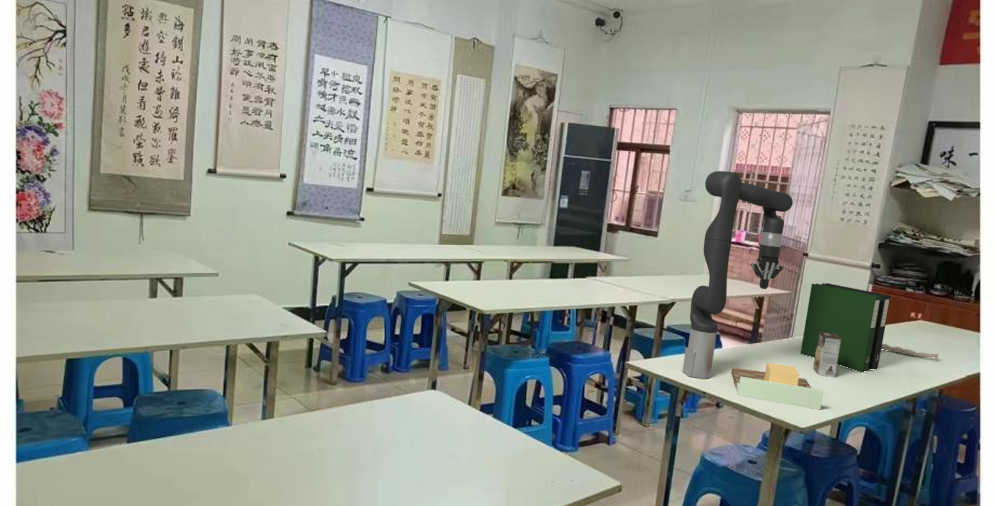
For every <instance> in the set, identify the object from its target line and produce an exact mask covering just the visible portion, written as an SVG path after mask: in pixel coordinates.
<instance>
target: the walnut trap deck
mask: <svg viewBox="0 0 994 506" xmlns="http://www.w3.org/2000/svg"><path fill="white" fill-rule="evenodd" d="M765 372H766V371H758V370H752V369H746V368H742V367H734V366H732V367H731V372H730V374H731V378H732V381H733V380H734V381H733V383H734V387H737V383H739V382H740V377H746V378H753V379H759V380H764V378H765ZM797 386H801V387H807V388H812V386H811V384H810V383H809V381H807V379H806V378H801V377H799V379H798V385H797Z"/></svg>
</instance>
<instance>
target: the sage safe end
mask: <svg viewBox="0 0 994 506" xmlns="http://www.w3.org/2000/svg"><path fill="white" fill-rule="evenodd" d="M735 390H736V394H737V396H739V397H744V398H748V399H750V398H751V399H756V400H761V401H766V402H774V403H777V404H783V403H784V405H789V404H792V405H791V406H795V405H797V406H796V407H802V408H807V409H812V408H814V410H818V409H820V410H821V407H822V401H823V395H824V390H822V389H818V388H812V387H811V388H807V387H801V386H795V385H789V384H783V383H777V382H771V381H765V380H759V379H753V378H746V377H740V382H739V383H737V387H736V388H735Z"/></svg>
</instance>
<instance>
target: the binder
mask: <svg viewBox="0 0 994 506" xmlns="http://www.w3.org/2000/svg"><path fill="white" fill-rule="evenodd" d="M810 286H811V287H810V292H809V299H808V305H807V312H806V315H805V316H806V318H805V324H804V329H803V336H802V342H801V347H800V348H801V349H800V355H802V354H804V355H803V356H805V355H807V356H806V357H809V356H811V357H810V358H812V357H814V358H813V359H815V353H816V347H817V341H818V335H819V332H828V333H835V334H836V335H838V336H839V337H840V338H841V343H840V349H839V355H838V360H837V364H838V365H842V366H845V367H848V368H851V369H850V370H852V369H854V370H853V371H855V370H857V371H856V372H858V371H860V372H859V373H862V372H863V373H865V372H864V371H867V372H869V369H876V370H878V369H879V364H880V358H881V353H882V351H881V348H882V344H883V341H884V336H885V330H886V325H887V321H888V320H887V319H888V313H889V309H890V301H891V297H892V296H891V294H884V293H879V292H875V291H874V292H873V291H870V290H869V291H868V290H864V289H858V288H854V287H848V286H844V285H838V284H833V283H828V282H827V283H824V282H822V283H821V284H820V283H811V285H810ZM838 365H837V366H838ZM842 366H841V367H842ZM845 367H844V368H845ZM848 368H847V369H848ZM877 368H878V369H877Z"/></svg>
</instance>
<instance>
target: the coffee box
mask: <svg viewBox="0 0 994 506" xmlns="http://www.w3.org/2000/svg"><path fill="white" fill-rule="evenodd" d="M840 343H841V338H840V337H839V336H838V335H836V334H835V333H828V332H819V335H818V341H817V347H816V353H815V358H813V359H814V361H813V366H812V367H813V368H812V369H813V370H814V372H815V371H816V372H815V373H816V374H817V375H818V376H821V375H825V376H824V377H828V376H831V378H835V377H836V370H837V366H838V365H837V360H838V355H839V349H840Z"/></svg>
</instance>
